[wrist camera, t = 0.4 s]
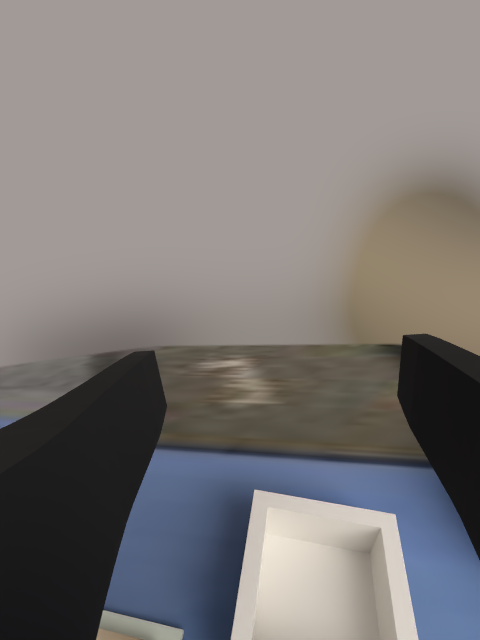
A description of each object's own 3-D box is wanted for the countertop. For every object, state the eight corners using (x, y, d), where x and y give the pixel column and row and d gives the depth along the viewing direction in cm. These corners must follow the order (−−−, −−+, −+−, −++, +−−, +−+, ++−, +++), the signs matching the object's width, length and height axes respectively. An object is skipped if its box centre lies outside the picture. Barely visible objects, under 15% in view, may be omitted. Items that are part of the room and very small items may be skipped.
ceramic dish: (409, 743, 17) (434, 727, 15) (226, 694, 18) (225, 672, 16) (381, 544, 24) (395, 514, 22) (253, 520, 26) (254, 489, 24)
